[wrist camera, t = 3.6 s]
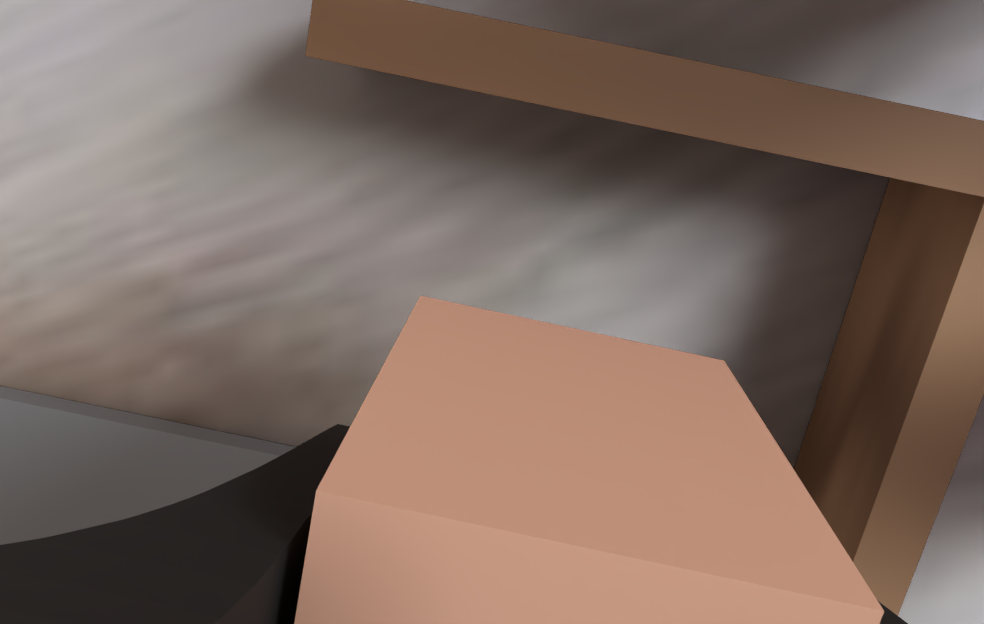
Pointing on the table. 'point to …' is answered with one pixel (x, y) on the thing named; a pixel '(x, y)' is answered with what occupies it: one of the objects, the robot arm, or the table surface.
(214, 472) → the coaster
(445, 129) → the table surface
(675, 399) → the block
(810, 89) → the brown piece
